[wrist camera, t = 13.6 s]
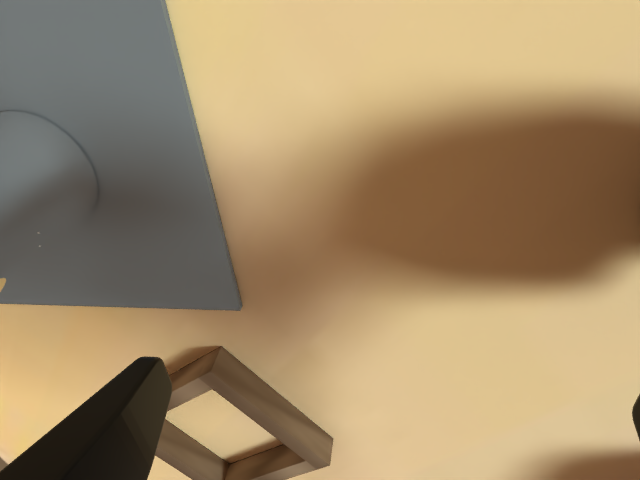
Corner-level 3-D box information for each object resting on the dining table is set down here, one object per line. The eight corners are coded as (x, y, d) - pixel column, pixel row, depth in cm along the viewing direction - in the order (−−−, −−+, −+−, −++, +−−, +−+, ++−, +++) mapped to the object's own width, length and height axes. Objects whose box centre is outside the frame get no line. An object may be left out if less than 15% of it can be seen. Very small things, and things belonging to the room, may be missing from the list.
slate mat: (149, -63, 16) (143, -63, 16) (242, 305, 26) (240, 310, 26) (-234, -16, 19) (-245, -15, 19) (-20, 298, 29) (-25, 302, 29)
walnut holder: (221, 346, 28) (210, 371, 27) (333, 438, 32) (330, 465, 31) (123, 401, 33) (109, 424, 32) (230, 474, 38) (222, 499, 36)
